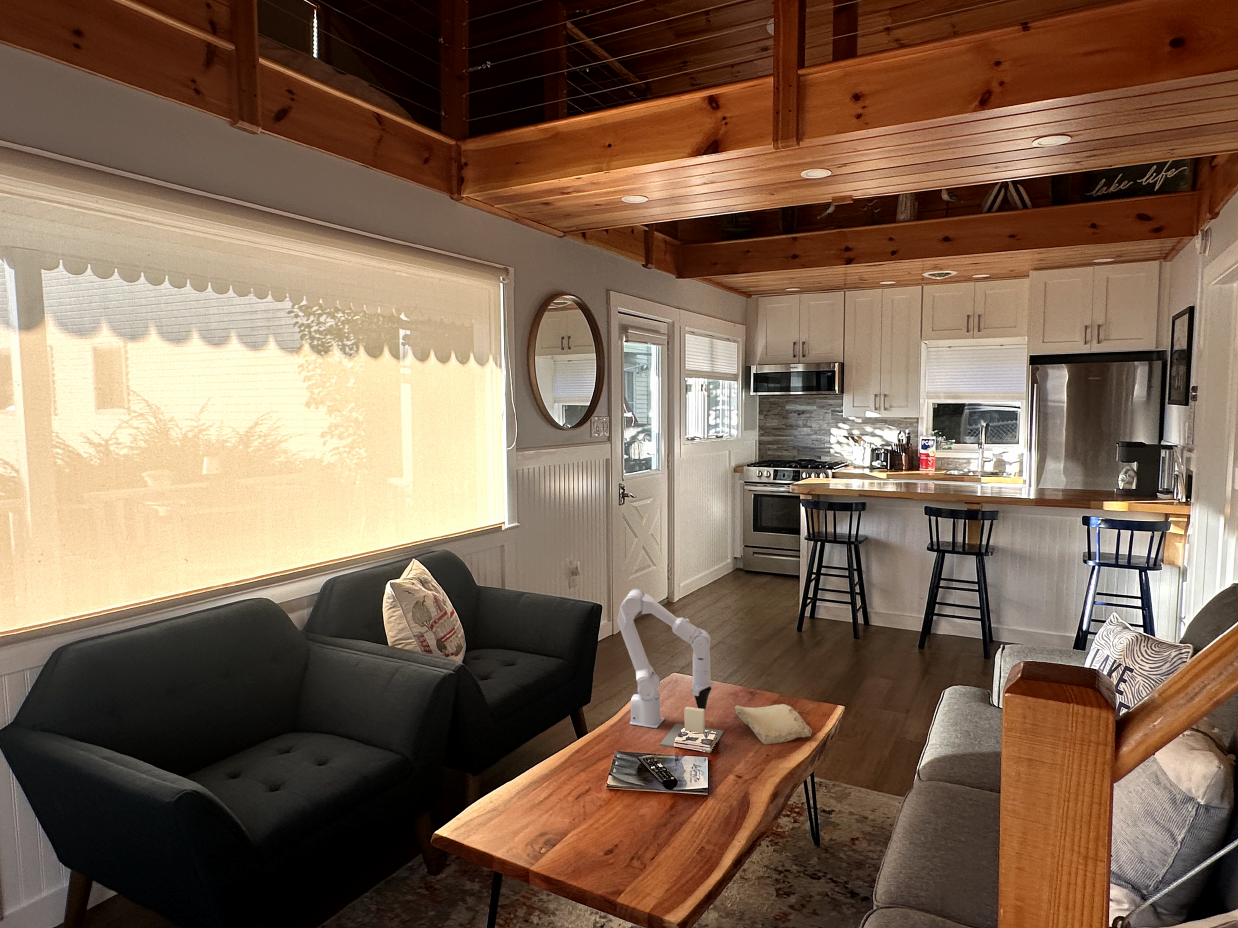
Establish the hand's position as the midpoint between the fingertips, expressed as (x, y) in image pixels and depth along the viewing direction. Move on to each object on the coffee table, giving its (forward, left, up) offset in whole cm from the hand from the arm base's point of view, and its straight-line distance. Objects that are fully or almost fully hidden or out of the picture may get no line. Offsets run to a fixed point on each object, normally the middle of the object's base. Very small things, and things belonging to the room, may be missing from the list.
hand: (701, 709), depth 256 cm
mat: (0, -11, -5) cm, 12 cm away
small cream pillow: (+21, +6, -6) cm, 23 cm away
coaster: (0, -8, -5) cm, 9 cm away
